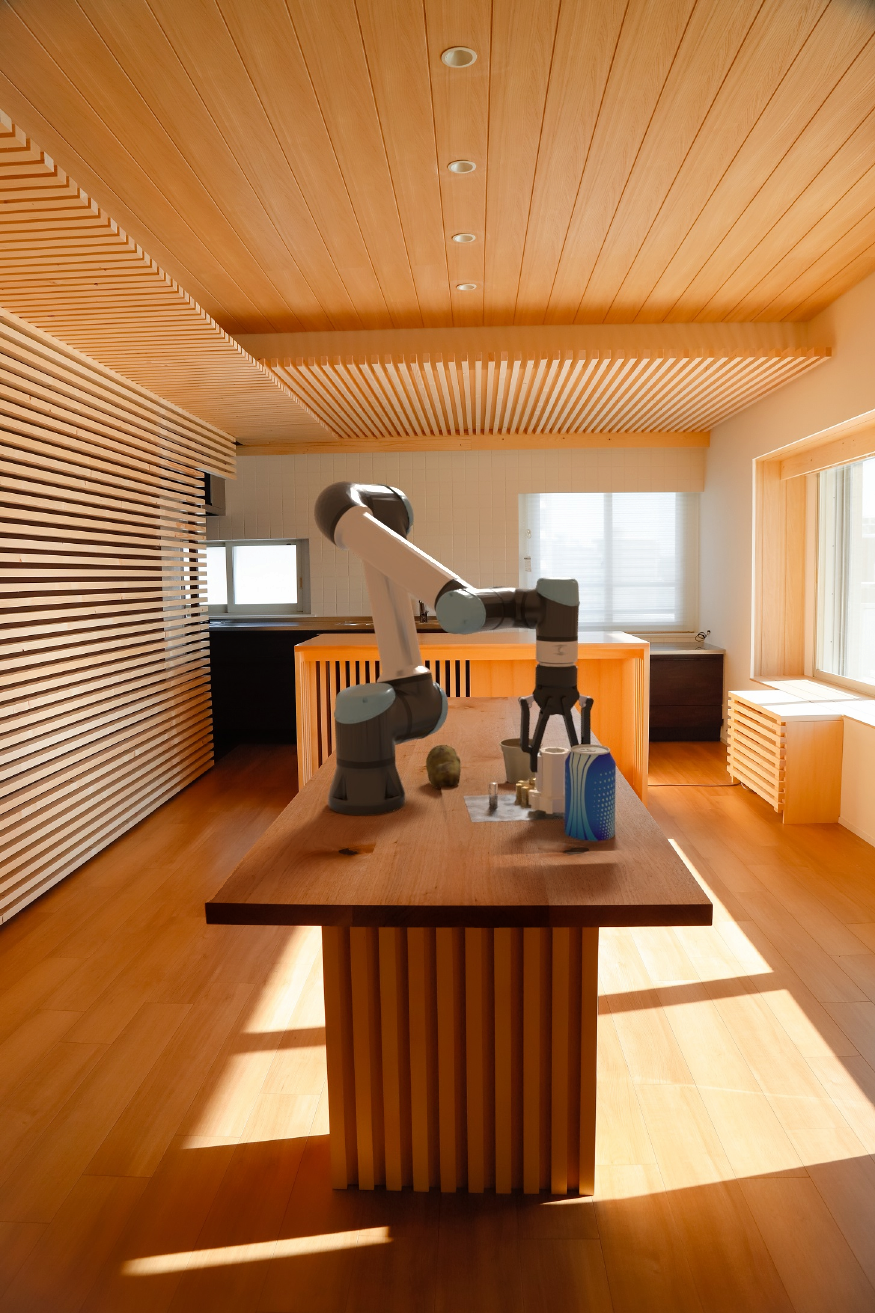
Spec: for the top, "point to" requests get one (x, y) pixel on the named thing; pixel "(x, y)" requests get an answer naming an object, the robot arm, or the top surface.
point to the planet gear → (551, 781)
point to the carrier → (507, 805)
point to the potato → (443, 767)
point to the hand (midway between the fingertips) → (554, 788)
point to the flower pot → (516, 760)
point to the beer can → (590, 793)
